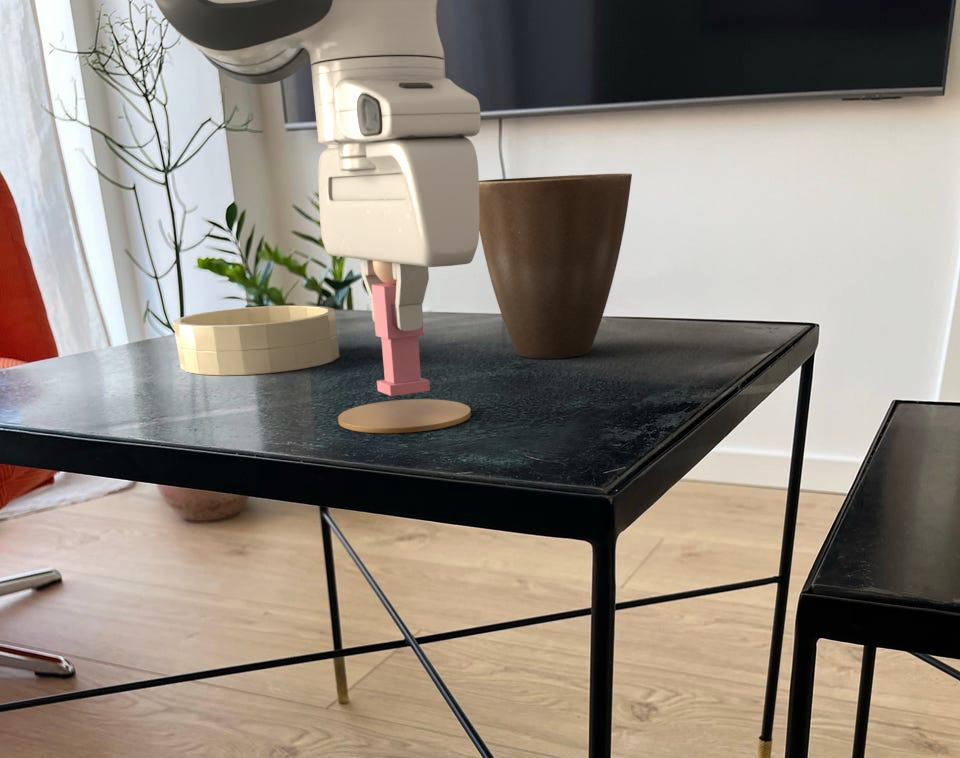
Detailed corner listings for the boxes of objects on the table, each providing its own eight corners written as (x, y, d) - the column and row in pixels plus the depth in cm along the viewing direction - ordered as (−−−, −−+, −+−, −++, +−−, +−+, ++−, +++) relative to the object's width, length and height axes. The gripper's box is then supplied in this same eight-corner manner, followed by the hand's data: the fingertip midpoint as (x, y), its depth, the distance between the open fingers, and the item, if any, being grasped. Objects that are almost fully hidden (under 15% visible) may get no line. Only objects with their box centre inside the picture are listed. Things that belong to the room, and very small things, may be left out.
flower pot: (650, 359, 95) (654, 171, 89) (494, 371, 93) (487, 180, 86) (603, 337, 109) (604, 173, 102) (466, 347, 106) (458, 180, 100)
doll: (391, 396, 74) (379, 242, 69) (376, 390, 76) (363, 241, 72) (431, 391, 75) (421, 239, 71) (415, 385, 78) (404, 238, 73)
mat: (367, 440, 70) (367, 434, 70) (320, 415, 79) (319, 410, 78) (494, 420, 74) (494, 414, 74) (436, 398, 83) (436, 393, 82)
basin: (203, 388, 92) (194, 331, 89) (167, 366, 104) (159, 315, 102) (362, 368, 98) (357, 314, 96) (310, 349, 110) (305, 301, 108)
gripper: (289, 124, 75) (310, 318, 81) (397, 101, 59) (414, 348, 64) (368, 122, 78) (383, 310, 83) (493, 100, 61) (502, 337, 67)
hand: (398, 327), depth 74 cm, fingers closed on doll, 2 cm apart
